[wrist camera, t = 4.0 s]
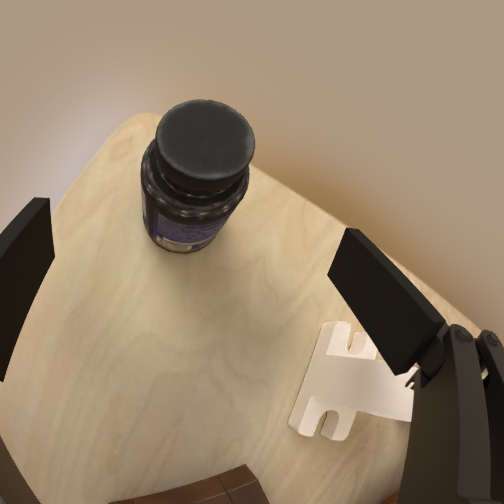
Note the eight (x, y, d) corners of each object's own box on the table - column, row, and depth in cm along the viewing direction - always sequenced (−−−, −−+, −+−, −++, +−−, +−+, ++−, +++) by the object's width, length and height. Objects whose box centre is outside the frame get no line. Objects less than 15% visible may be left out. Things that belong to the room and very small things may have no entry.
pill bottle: (234, 221, 24) (295, 150, 14) (179, 272, 22) (204, 226, 12) (184, 168, 24) (212, 73, 14) (126, 213, 21) (113, 127, 11)
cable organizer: (367, 337, 26) (452, 334, 17) (333, 435, 22) (412, 469, 13) (324, 319, 25) (411, 311, 16) (285, 427, 21) (359, 471, 12)
